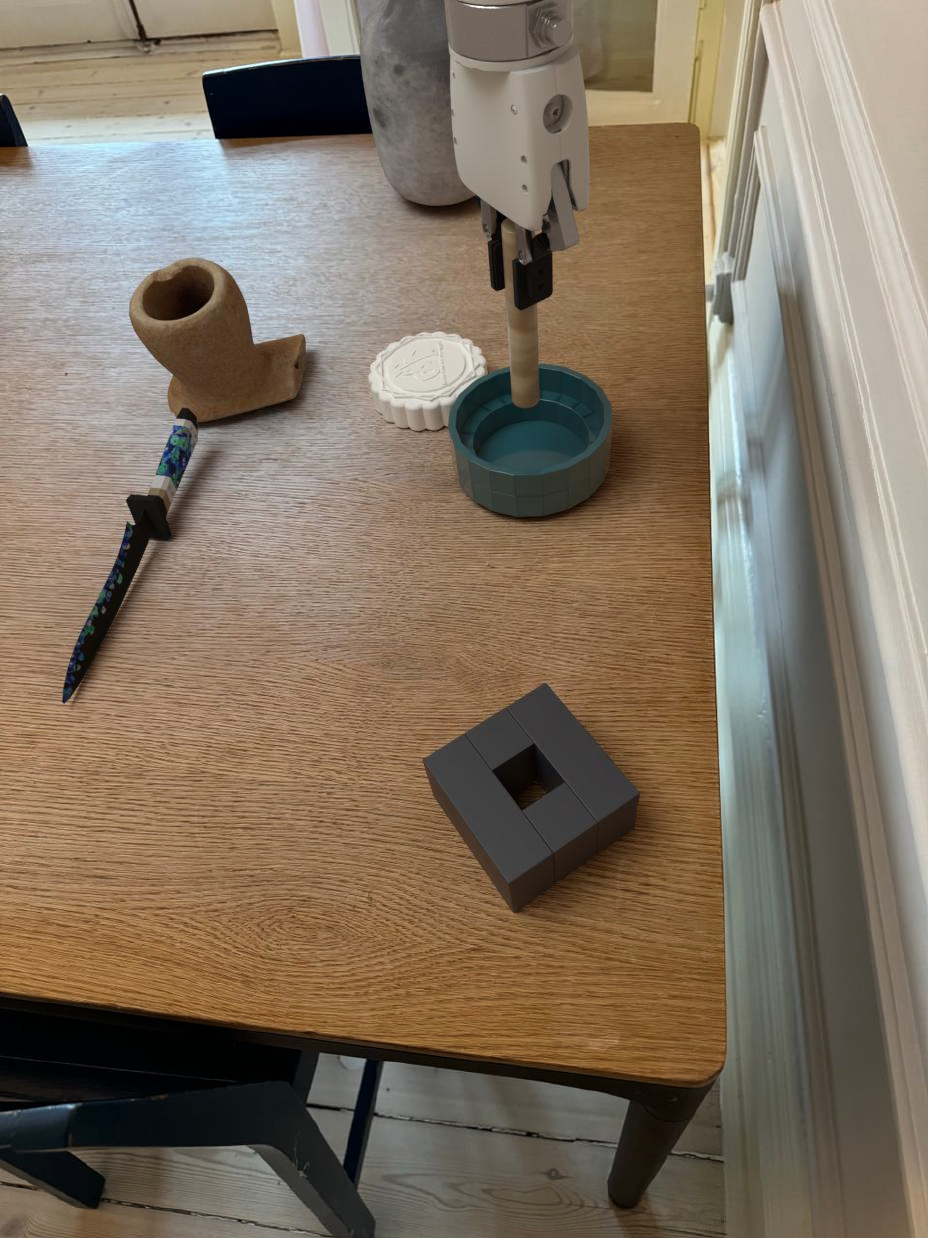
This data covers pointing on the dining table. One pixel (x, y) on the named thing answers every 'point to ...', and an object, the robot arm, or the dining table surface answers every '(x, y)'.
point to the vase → (412, 99)
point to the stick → (520, 331)
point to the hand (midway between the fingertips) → (521, 290)
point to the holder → (553, 825)
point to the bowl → (531, 442)
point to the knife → (135, 545)
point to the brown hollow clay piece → (212, 342)
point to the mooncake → (424, 378)
